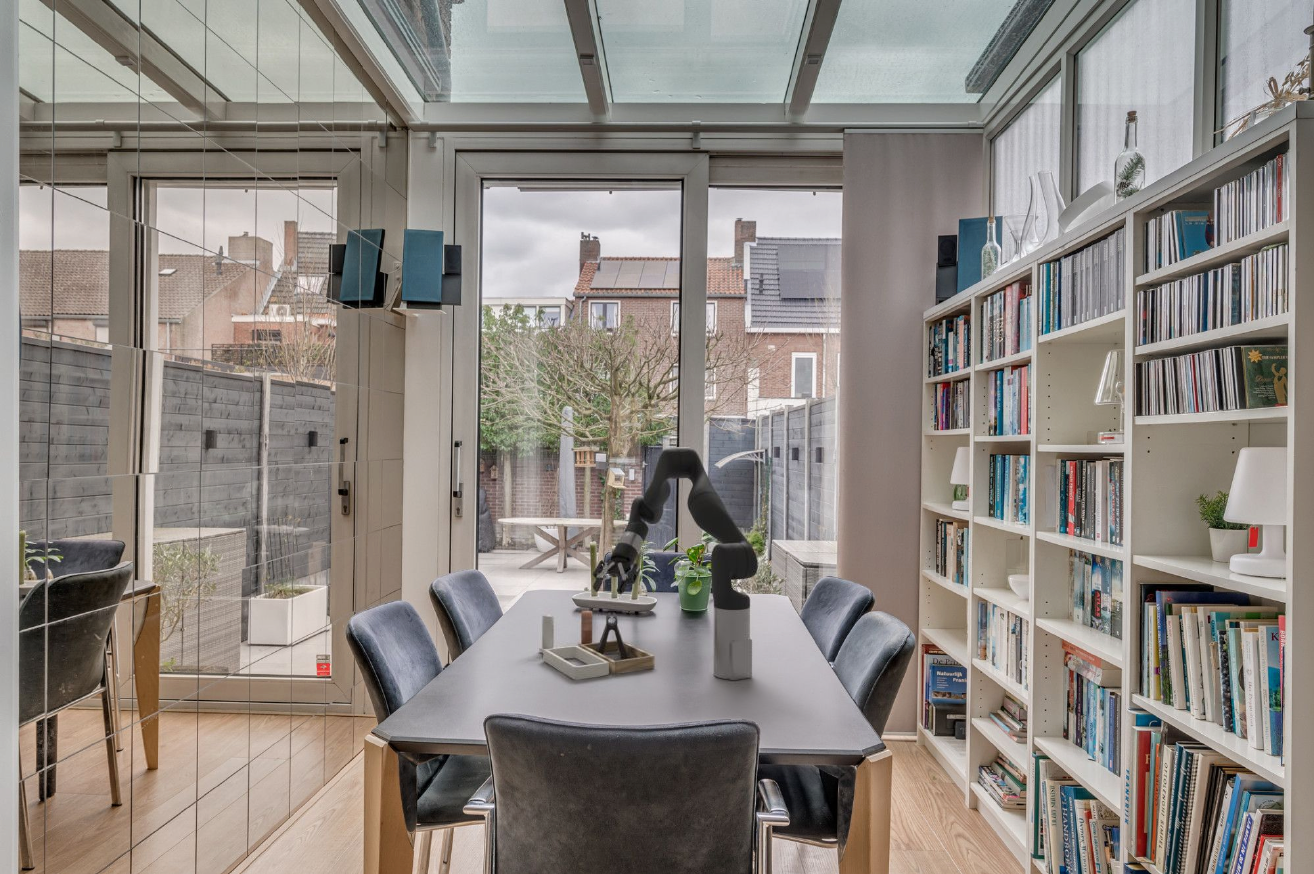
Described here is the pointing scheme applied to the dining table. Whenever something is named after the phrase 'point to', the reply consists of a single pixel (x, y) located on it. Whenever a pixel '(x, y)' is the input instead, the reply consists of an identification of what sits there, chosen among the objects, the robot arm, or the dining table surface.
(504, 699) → the dining table surface
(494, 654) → the dining table surface
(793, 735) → the dining table surface
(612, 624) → the dark metal pliers
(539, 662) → the dining table surface
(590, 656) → the white frame
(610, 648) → the oak frame
